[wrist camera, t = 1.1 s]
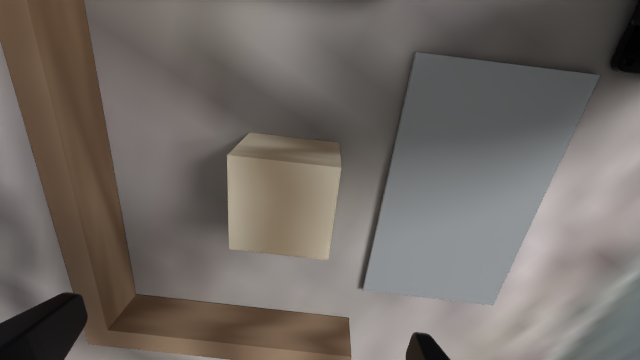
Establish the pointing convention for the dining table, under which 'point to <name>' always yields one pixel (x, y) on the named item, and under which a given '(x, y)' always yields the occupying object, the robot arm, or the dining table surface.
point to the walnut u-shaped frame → (105, 213)
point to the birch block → (282, 195)
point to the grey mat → (469, 173)
